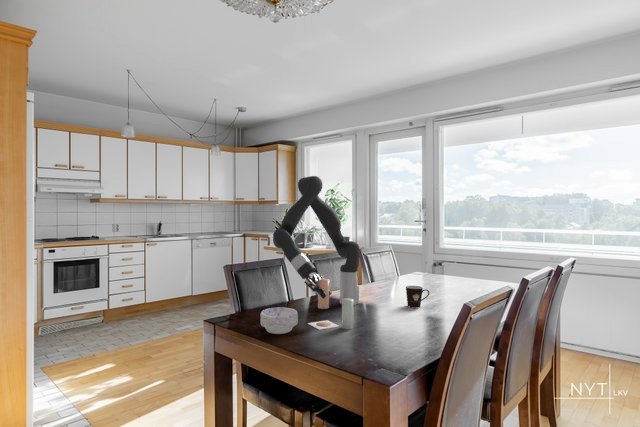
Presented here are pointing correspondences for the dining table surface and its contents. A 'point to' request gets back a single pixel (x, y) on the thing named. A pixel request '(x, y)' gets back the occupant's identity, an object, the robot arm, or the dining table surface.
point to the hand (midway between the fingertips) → (327, 295)
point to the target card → (323, 325)
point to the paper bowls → (279, 319)
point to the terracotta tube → (324, 285)
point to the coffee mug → (415, 295)
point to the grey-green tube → (347, 313)
